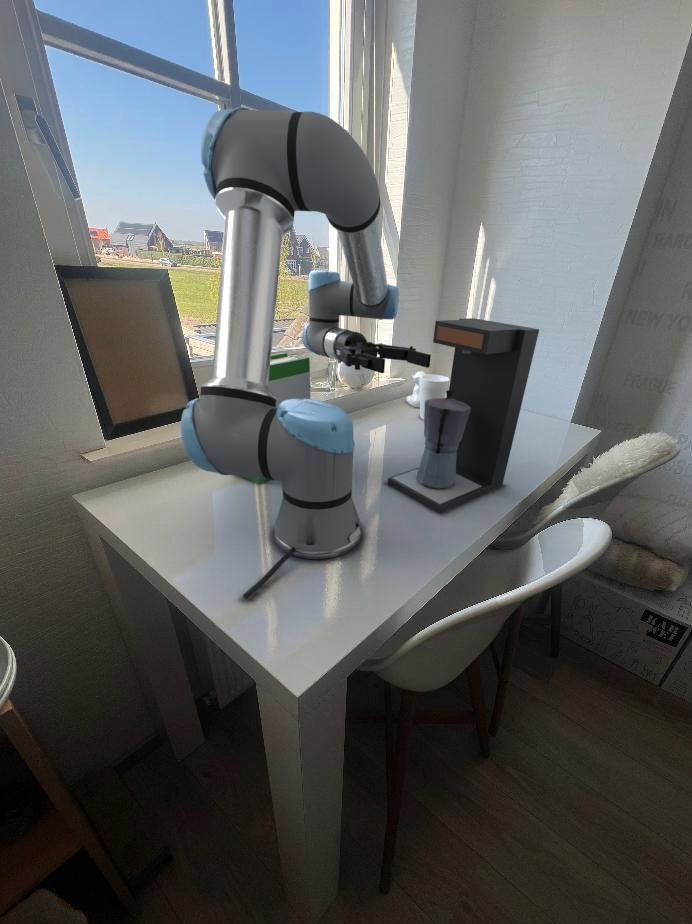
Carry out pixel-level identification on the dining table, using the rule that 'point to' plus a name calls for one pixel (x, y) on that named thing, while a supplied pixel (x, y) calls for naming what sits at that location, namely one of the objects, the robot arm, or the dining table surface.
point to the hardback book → (288, 381)
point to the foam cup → (431, 389)
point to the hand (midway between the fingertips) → (407, 363)
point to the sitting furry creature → (415, 391)
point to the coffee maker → (479, 406)
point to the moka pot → (442, 440)
